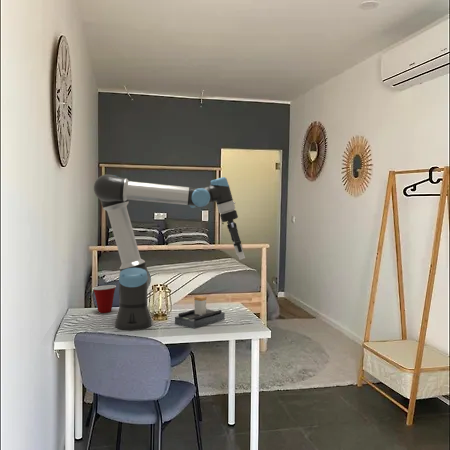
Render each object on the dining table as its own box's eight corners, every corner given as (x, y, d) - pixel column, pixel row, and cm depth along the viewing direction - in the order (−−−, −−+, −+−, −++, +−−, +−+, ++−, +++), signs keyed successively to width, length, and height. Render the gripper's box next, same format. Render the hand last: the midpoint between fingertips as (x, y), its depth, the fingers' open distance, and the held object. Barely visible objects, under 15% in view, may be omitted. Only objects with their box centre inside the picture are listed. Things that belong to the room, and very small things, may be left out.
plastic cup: (103, 308, 239) (102, 283, 238) (121, 310, 234) (120, 285, 234) (87, 312, 229) (87, 287, 229) (106, 315, 225) (105, 289, 224)
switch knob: (201, 315, 212) (201, 298, 212) (194, 313, 215) (194, 296, 215) (206, 314, 215) (206, 297, 214) (199, 312, 218) (199, 295, 217)
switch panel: (193, 328, 204) (193, 318, 204) (174, 324, 211) (174, 313, 211) (224, 319, 219) (224, 309, 219) (206, 315, 226) (206, 305, 226)
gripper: (238, 210, 209) (252, 258, 211) (233, 208, 234) (245, 251, 236) (221, 215, 209) (235, 263, 211) (218, 212, 234) (230, 255, 235)
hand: (240, 256), depth 223 cm, fingers open, 13 cm apart
